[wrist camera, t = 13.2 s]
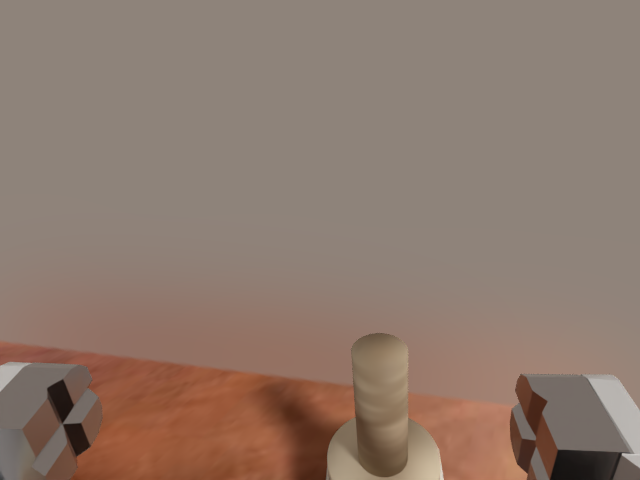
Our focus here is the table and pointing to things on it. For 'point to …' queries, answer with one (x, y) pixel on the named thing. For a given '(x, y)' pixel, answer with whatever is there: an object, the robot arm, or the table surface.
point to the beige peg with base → (382, 420)
